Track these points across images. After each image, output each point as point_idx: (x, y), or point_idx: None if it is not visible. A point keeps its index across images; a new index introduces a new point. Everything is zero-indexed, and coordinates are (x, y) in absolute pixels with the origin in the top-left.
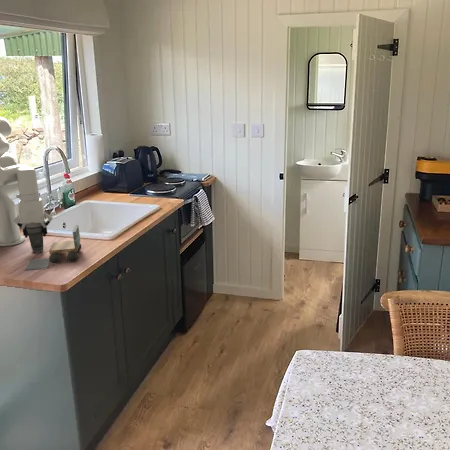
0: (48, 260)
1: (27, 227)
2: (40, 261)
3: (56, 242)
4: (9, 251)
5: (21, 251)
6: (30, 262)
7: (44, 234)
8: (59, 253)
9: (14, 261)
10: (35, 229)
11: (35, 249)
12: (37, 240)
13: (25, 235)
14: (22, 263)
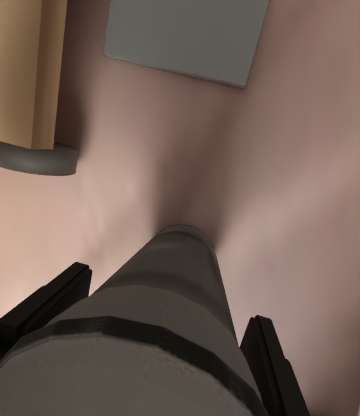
0: (122, 2)
1: (251, 411)
2: (178, 7)
3: (1, 130)
4: (343, 340)
5: (276, 303)
6: (249, 19)
7: (66, 271)
8: (61, 144)
9: (346, 140)
10: (115, 307)
11: (195, 233)
12: (159, 249)
13: (269, 334)
14: (300, 67)
